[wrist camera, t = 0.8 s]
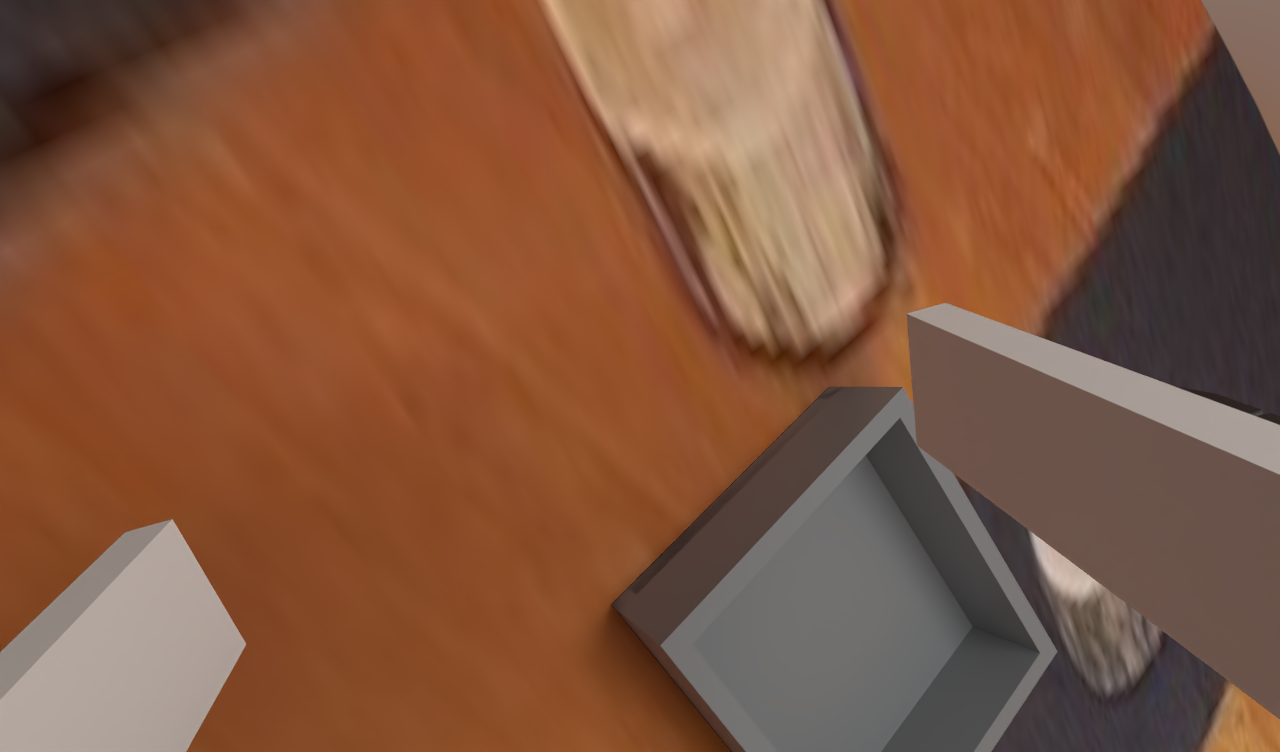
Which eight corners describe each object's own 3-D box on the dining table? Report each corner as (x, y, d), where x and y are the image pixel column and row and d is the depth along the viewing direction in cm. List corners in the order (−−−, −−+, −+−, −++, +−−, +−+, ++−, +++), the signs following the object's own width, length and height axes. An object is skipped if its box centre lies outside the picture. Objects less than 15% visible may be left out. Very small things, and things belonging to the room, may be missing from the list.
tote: (611, 604, 29) (660, 645, 24) (829, 386, 34) (902, 387, 30) (808, 846, 33) (880, 919, 29) (974, 620, 39) (1057, 651, 34)
